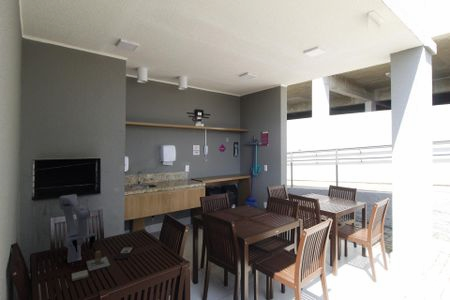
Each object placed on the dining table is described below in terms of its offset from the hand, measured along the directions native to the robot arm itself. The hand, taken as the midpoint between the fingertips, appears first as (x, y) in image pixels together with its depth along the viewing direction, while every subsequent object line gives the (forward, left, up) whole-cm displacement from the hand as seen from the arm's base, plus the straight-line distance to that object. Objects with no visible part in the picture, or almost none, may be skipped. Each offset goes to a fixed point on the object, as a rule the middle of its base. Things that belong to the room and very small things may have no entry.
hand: (83, 250), depth 155 cm
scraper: (+2, +8, -10) cm, 13 cm away
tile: (+8, -3, -10) cm, 13 cm away
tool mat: (+2, +8, -10) cm, 13 cm away
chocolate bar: (-4, +26, -11) cm, 28 cm away
